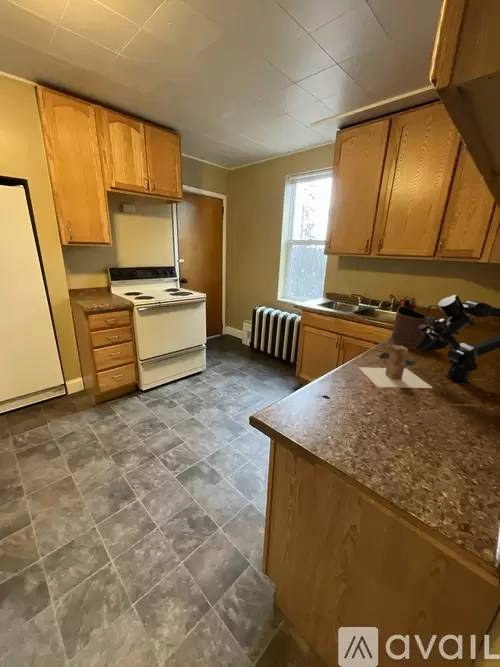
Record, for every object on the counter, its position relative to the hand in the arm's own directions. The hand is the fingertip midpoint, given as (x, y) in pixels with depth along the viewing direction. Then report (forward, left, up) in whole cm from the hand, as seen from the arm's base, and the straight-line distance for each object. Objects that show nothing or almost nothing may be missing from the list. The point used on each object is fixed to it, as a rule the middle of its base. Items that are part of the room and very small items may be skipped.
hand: (419, 350), depth 113 cm
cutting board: (+9, 0, -13) cm, 15 cm away
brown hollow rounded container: (-25, -44, -13) cm, 52 cm away
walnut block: (+9, 0, -12) cm, 15 cm away
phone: (-4, -20, -13) cm, 24 cm away
